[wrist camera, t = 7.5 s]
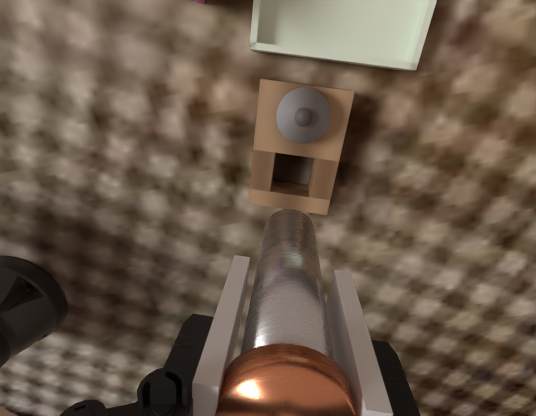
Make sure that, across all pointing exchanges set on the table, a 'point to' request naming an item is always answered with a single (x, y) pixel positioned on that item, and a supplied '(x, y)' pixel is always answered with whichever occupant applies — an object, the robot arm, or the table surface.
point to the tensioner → (298, 142)
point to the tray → (344, 30)
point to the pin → (286, 333)
